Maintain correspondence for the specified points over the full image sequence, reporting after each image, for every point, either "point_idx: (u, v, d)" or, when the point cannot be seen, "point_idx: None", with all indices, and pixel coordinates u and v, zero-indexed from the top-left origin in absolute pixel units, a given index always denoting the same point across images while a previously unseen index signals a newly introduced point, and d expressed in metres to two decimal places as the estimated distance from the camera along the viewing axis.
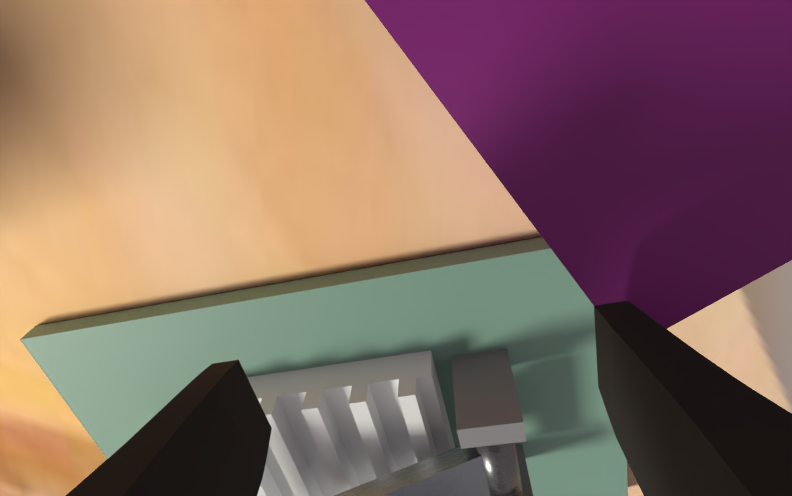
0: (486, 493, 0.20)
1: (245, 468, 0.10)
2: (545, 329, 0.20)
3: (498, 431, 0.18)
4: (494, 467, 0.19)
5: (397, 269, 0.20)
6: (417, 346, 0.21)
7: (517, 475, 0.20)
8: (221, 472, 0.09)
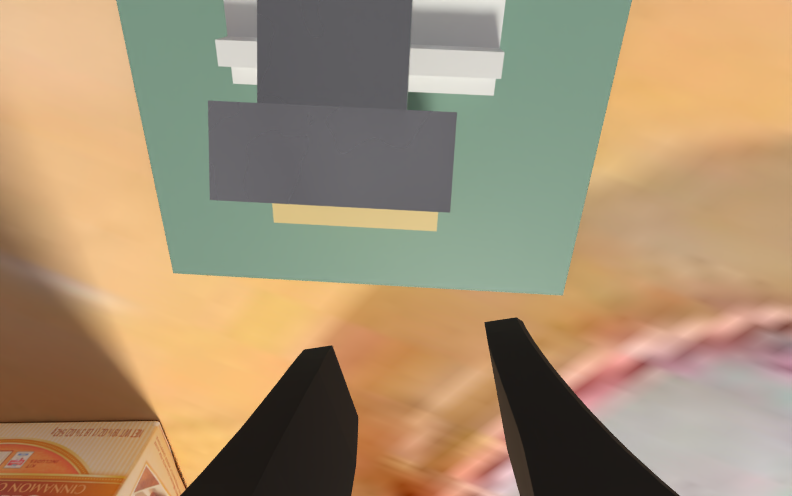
0: None
1: (343, 457, 0.09)
2: None
3: None
4: None
5: None
6: None
7: None
8: (327, 460, 0.09)
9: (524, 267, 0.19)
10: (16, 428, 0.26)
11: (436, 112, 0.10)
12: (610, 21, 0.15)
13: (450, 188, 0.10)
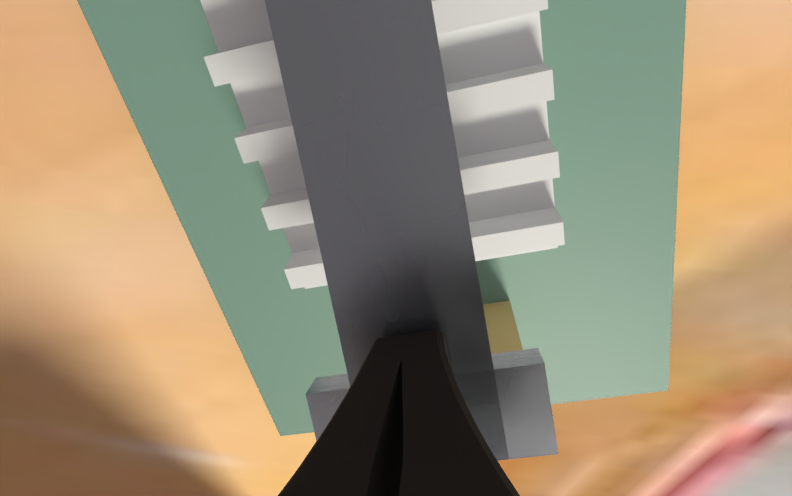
0: None
1: None
2: None
3: None
4: None
5: None
6: None
7: None
8: None
9: (621, 372, 0.19)
10: None
11: (523, 366, 0.10)
12: (661, 143, 0.15)
13: (553, 433, 0.10)
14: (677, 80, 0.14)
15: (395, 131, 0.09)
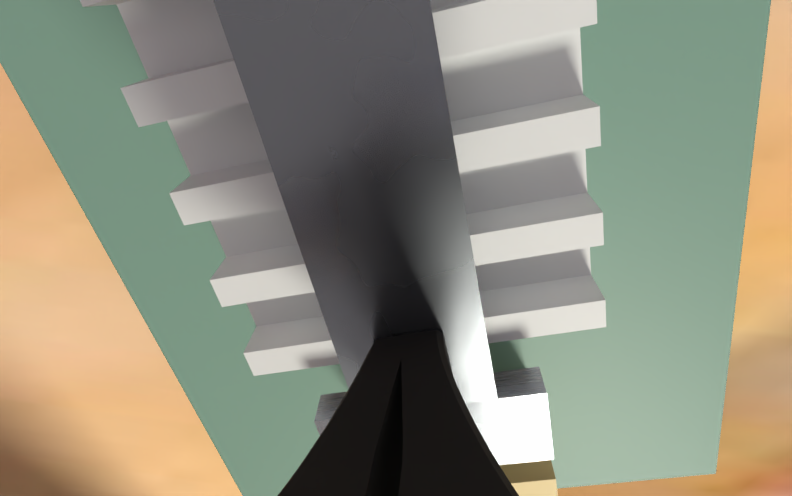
0: None
1: None
2: None
3: None
4: None
5: None
6: None
7: None
8: None
9: (660, 454, 0.16)
10: None
11: (526, 396, 0.10)
12: (726, 190, 0.11)
13: (551, 445, 0.11)
14: (751, 113, 0.11)
15: (395, 186, 0.08)
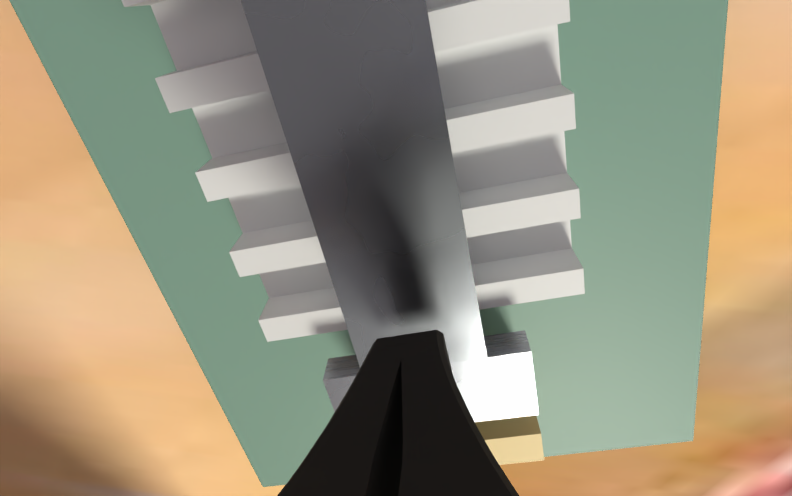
0: None
1: None
2: None
3: None
4: None
5: None
6: None
7: None
8: None
9: (641, 422, 0.17)
10: None
11: (513, 354, 0.11)
12: (694, 172, 0.13)
13: (536, 401, 0.12)
14: (714, 102, 0.12)
15: (396, 163, 0.09)
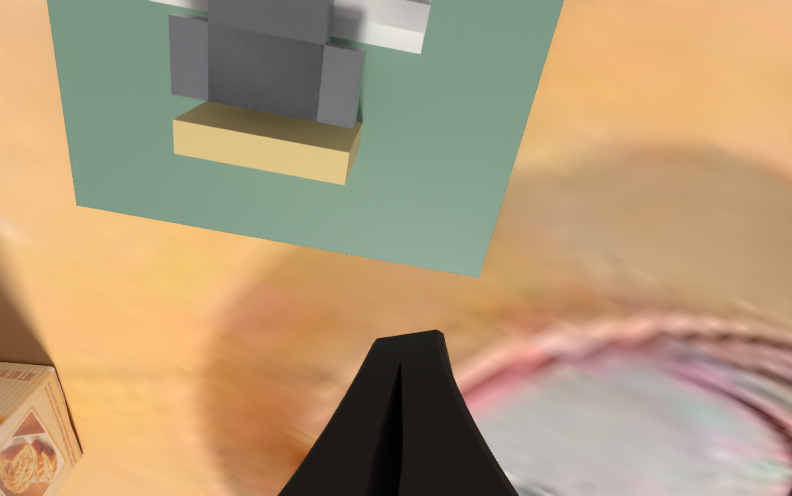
0: None
1: None
2: None
3: None
4: None
5: None
6: None
7: None
8: None
9: (443, 244, 0.19)
10: None
11: (347, 50, 0.13)
12: None
13: (353, 110, 0.13)
14: None
15: None
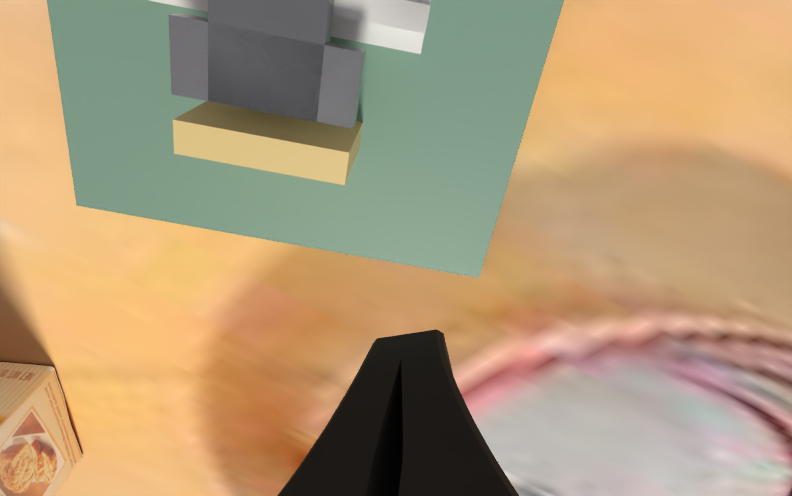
0: None
1: None
2: None
3: None
4: None
5: None
6: None
7: None
8: None
9: (443, 244, 0.19)
10: None
11: (347, 50, 0.13)
12: None
13: (353, 110, 0.13)
14: None
15: None
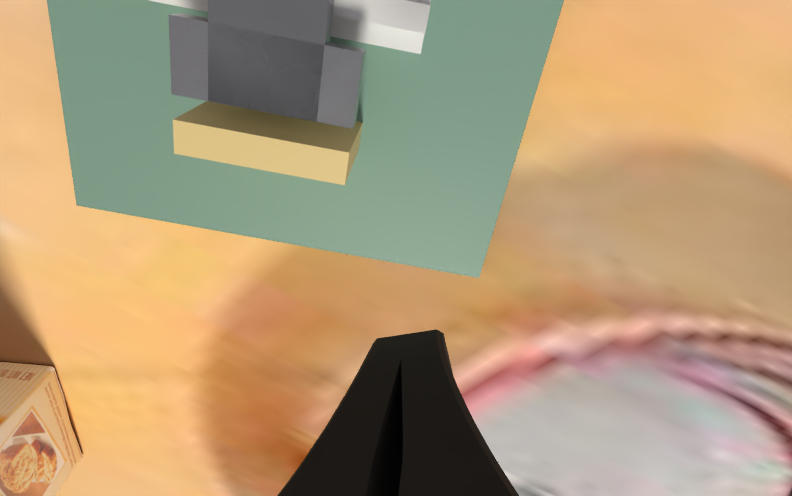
0: None
1: None
2: None
3: None
4: None
5: None
6: None
7: None
8: None
9: (443, 244, 0.19)
10: None
11: (347, 50, 0.13)
12: None
13: (353, 110, 0.13)
14: None
15: None
